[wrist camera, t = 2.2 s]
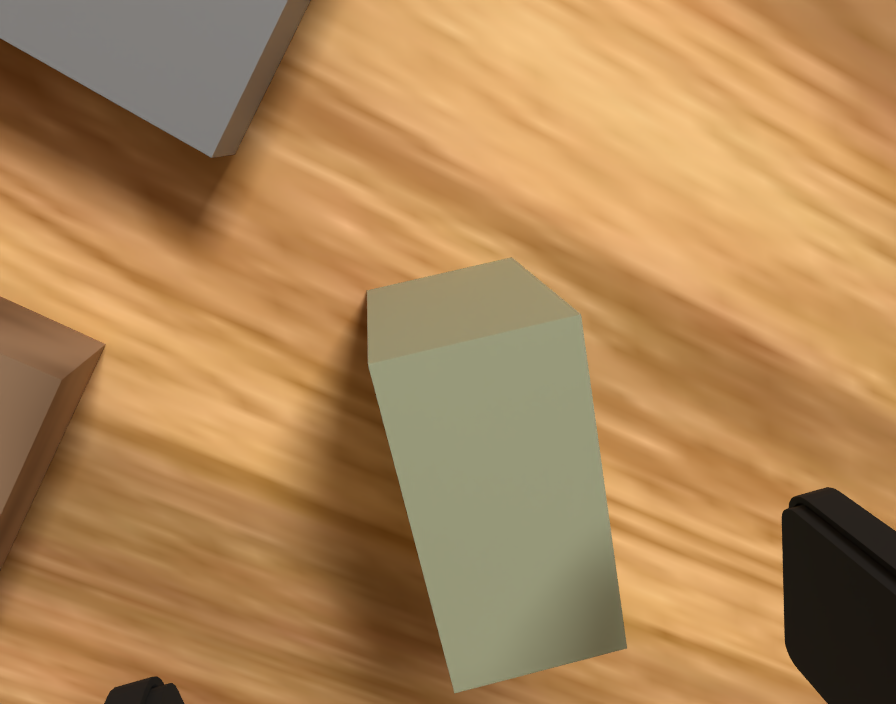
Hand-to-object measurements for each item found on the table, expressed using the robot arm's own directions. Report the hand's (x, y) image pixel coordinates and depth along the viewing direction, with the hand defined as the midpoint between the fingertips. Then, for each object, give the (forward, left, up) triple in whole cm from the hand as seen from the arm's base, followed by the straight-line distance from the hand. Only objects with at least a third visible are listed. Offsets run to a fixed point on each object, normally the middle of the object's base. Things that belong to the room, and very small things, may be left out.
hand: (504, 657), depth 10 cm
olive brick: (-1, 0, -10) cm, 10 cm away
